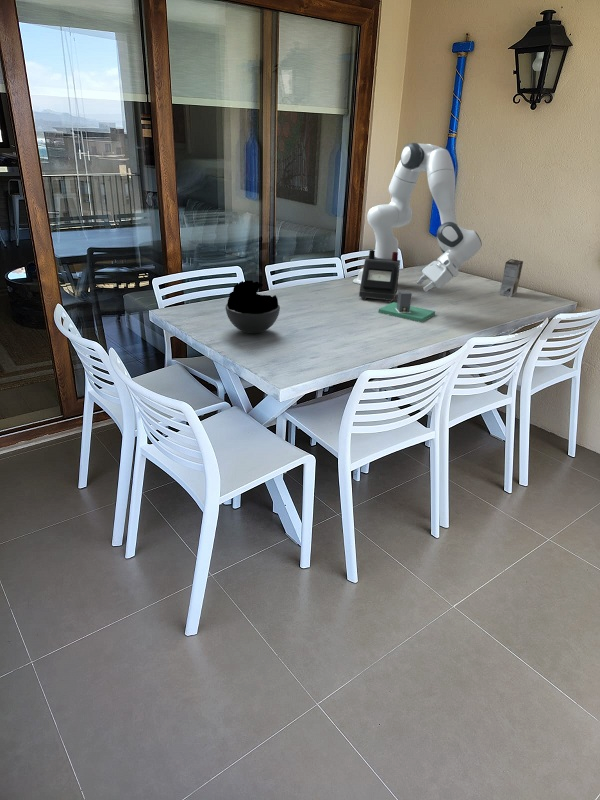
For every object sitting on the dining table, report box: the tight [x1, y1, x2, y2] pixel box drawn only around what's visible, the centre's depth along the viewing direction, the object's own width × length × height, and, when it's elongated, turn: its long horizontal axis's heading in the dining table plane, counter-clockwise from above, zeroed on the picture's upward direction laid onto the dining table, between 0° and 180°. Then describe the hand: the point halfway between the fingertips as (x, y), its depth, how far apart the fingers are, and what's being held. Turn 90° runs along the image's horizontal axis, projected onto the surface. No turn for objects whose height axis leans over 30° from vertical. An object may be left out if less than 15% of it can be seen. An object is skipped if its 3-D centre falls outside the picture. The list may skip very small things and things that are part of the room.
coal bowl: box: [225, 279, 281, 334], centre depth 200 cm, size 20×20×19 cm
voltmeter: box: [358, 249, 401, 303], centre depth 251 cm, size 16×16×20 cm
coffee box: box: [499, 258, 524, 298], centre depth 265 cm, size 9×6×16 cm
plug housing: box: [396, 289, 412, 312], centre depth 229 cm, size 5×4×8 cm
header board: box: [378, 301, 436, 323], centre depth 232 cm, size 20×14×2 cm
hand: (420, 287), depth 227 cm, fingers open, 8 cm apart
